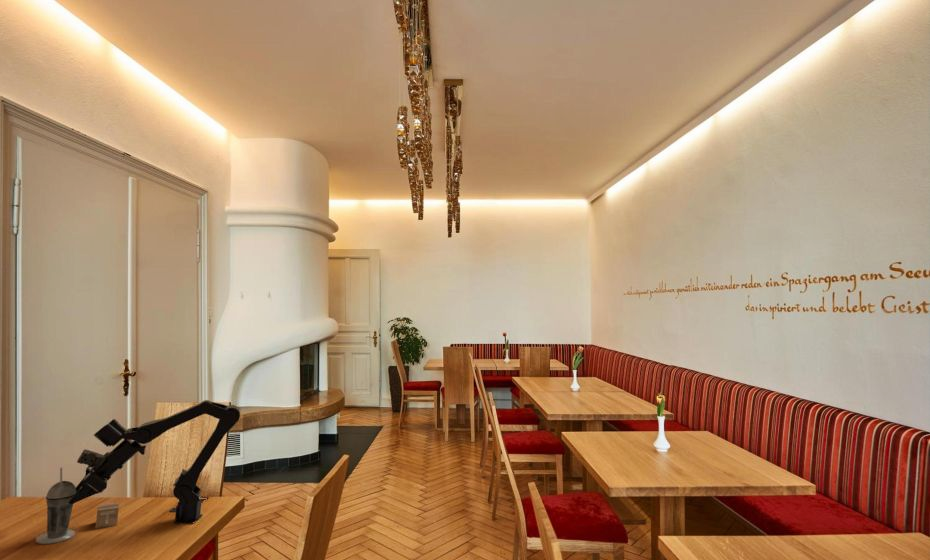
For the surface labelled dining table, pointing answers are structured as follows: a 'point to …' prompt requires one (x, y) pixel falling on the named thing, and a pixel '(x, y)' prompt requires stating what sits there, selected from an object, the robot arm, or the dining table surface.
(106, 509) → the letter block
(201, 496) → the smartphone
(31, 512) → the dining table surface
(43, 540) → the grey coaster
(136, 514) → the dining table surface
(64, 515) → the beverage cup
